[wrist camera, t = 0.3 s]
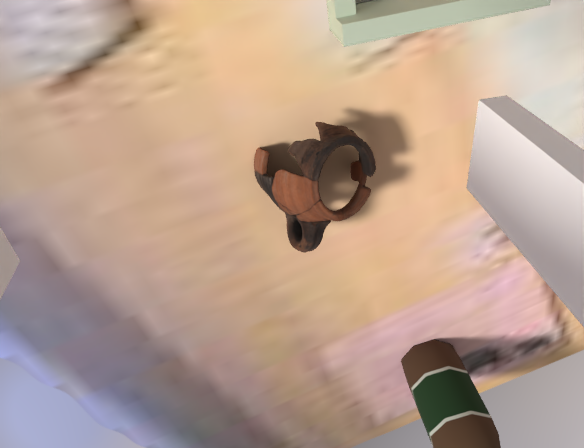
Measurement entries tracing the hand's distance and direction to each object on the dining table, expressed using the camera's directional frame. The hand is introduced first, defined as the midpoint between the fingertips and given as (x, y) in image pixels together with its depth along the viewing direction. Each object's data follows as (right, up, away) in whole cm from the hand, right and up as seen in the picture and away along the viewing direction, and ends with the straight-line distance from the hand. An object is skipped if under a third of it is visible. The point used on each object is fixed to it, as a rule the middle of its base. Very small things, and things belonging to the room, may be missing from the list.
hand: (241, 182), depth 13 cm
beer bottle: (+20, -19, +51) cm, 58 cm away
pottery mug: (+3, +4, +32) cm, 32 cm away
